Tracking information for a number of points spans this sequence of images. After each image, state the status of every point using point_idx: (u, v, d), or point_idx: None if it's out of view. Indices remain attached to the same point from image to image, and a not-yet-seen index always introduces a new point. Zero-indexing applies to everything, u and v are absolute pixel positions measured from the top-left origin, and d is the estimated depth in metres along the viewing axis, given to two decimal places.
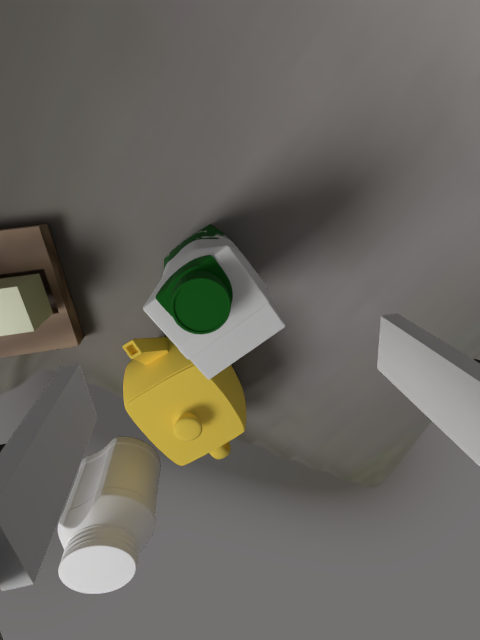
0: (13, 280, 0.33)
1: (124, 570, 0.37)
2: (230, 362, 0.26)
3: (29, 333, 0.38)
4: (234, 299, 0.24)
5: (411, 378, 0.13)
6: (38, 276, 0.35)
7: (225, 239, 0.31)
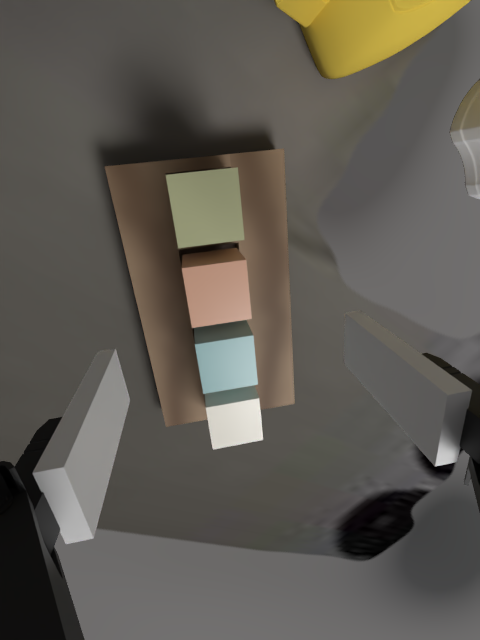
0: None
1: None
2: None
3: (258, 214, 0.28)
4: None
5: (370, 372, 0.14)
6: None
7: None
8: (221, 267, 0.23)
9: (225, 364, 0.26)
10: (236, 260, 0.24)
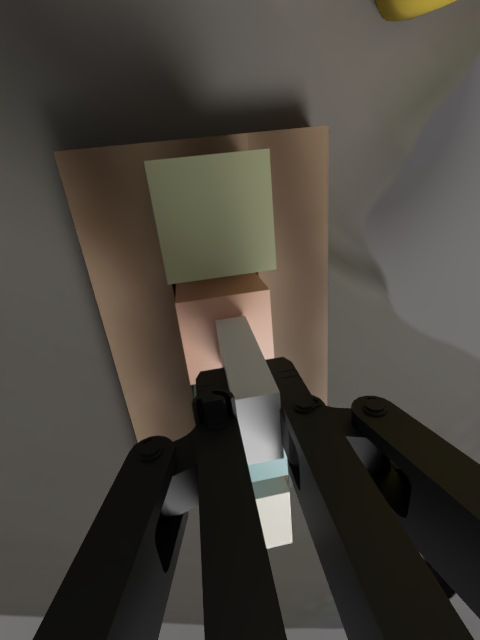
0: None
1: None
2: None
3: (287, 223, 0.19)
4: None
5: None
6: None
7: None
8: (233, 301, 0.16)
9: None
10: (255, 290, 0.16)
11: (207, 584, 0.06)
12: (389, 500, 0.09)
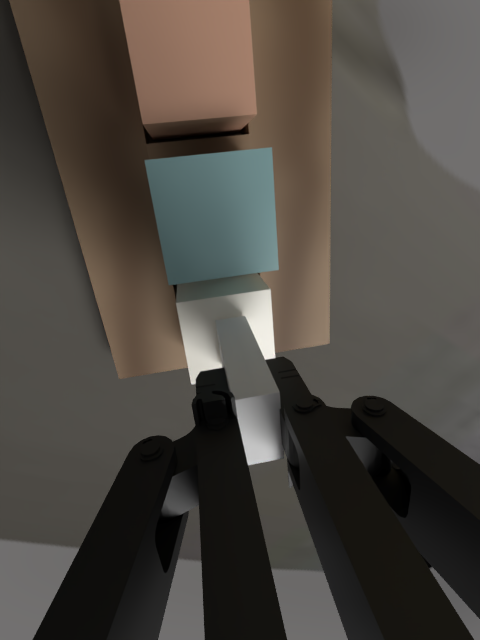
0: None
1: None
2: None
3: None
4: None
5: None
6: None
7: None
8: None
9: (213, 217, 0.13)
10: None
11: (207, 584, 0.06)
12: (389, 500, 0.09)
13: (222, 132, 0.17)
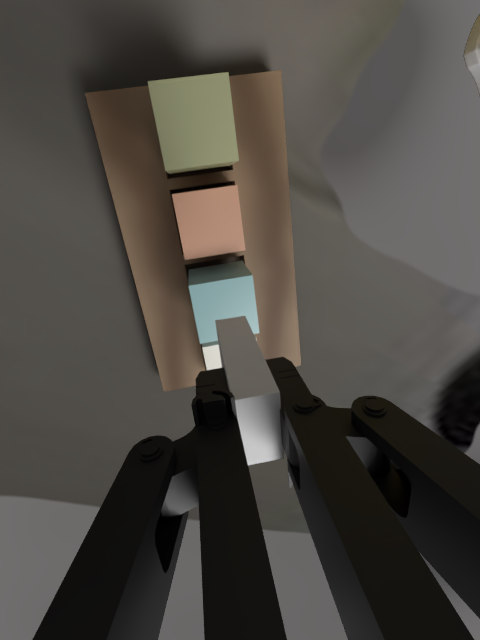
0: None
1: None
2: None
3: (255, 147, 0.26)
4: None
5: None
6: None
7: None
8: (212, 193, 0.23)
9: (223, 309, 0.24)
10: (227, 186, 0.23)
11: (207, 584, 0.06)
12: (389, 500, 0.09)
13: None
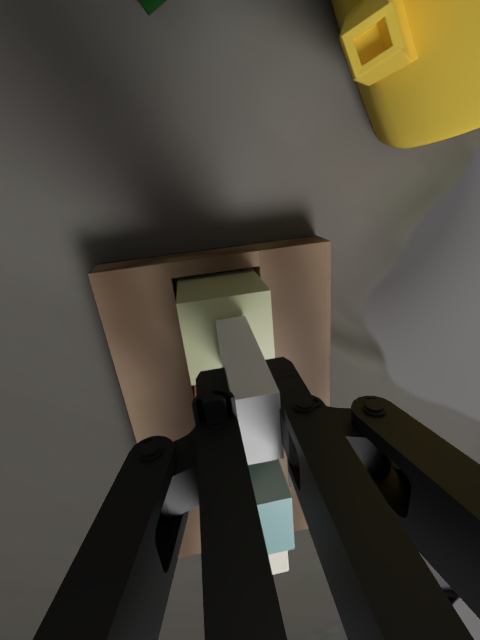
0: None
1: None
2: None
3: (293, 321, 0.21)
4: None
5: None
6: (181, 278, 0.20)
7: None
8: None
9: None
10: None
11: (207, 584, 0.06)
12: (389, 500, 0.09)
13: None
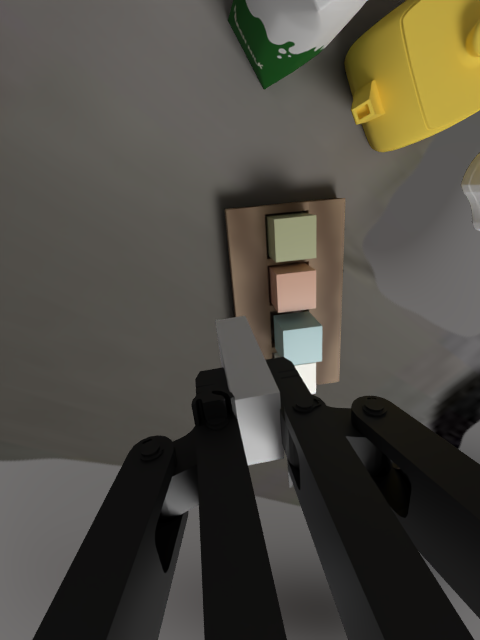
0: (269, 232, 0.38)
1: None
2: None
3: (324, 242, 0.40)
4: None
5: None
6: (267, 216, 0.39)
7: None
8: (300, 274, 0.37)
9: (301, 345, 0.38)
10: (309, 270, 0.37)
11: (207, 584, 0.06)
12: (389, 500, 0.09)
13: None
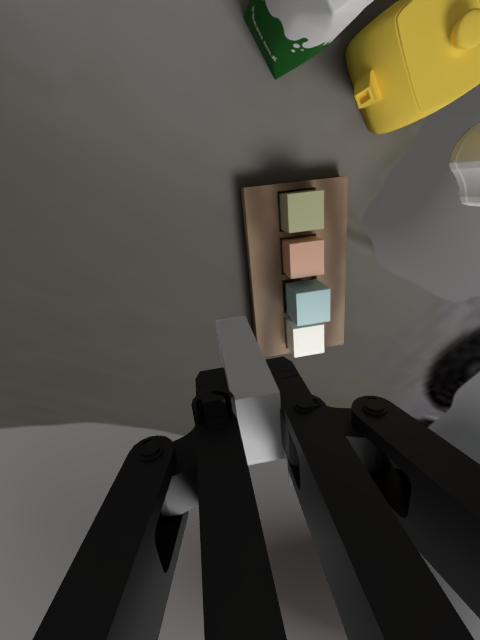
0: (281, 207, 0.43)
1: None
2: None
3: (329, 215, 0.45)
4: None
5: None
6: (279, 193, 0.44)
7: None
8: (310, 244, 0.42)
9: (312, 307, 0.43)
10: (318, 240, 0.43)
11: (207, 584, 0.06)
12: (389, 500, 0.09)
13: None
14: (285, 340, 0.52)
